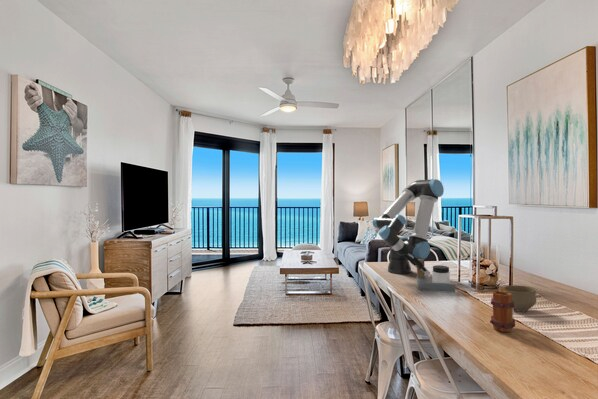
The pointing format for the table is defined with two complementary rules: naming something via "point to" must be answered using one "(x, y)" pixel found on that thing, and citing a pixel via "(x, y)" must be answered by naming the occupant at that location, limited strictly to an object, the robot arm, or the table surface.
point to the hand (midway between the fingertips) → (426, 273)
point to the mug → (502, 310)
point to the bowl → (522, 297)
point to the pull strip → (432, 286)
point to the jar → (440, 274)
